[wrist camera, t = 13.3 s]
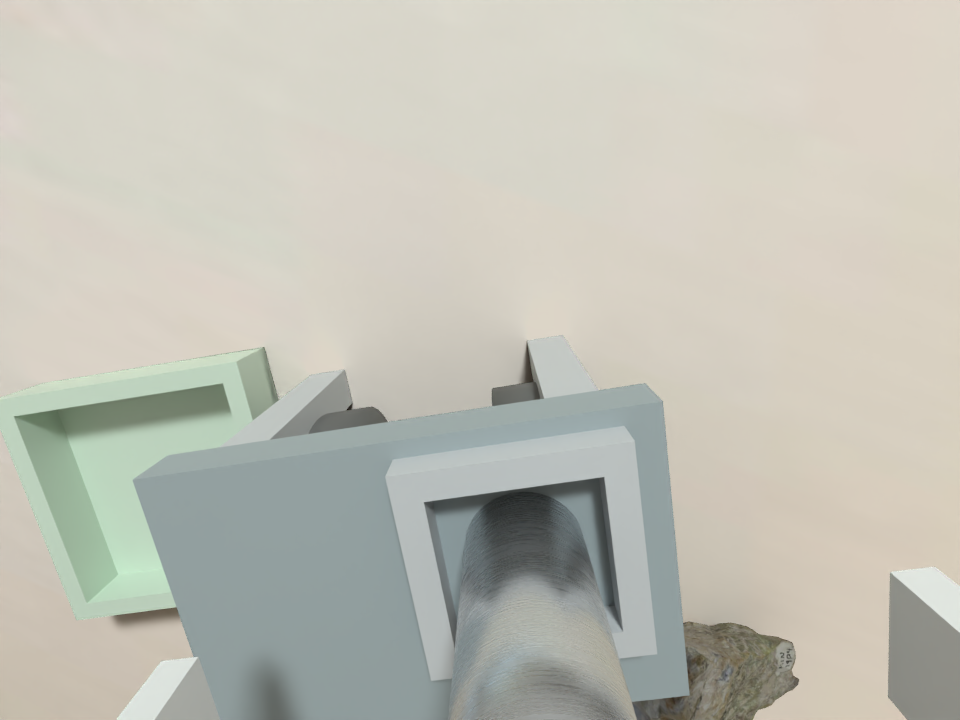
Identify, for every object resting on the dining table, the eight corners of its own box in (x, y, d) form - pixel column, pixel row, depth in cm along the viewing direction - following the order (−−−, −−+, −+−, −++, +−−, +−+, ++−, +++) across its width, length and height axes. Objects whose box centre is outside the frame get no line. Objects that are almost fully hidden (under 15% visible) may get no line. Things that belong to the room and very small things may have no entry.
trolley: (334, 564, 27) (217, 807, 16) (284, 374, 24) (105, 498, 13) (613, 527, 26) (705, 756, 15) (589, 326, 24) (676, 414, 12)
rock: (726, 694, 18) (828, 644, 25) (603, 569, 23) (716, 554, 29) (586, 910, 21) (711, 815, 27) (500, 760, 25) (624, 708, 32)
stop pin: (472, 607, 15) (432, 1323, 5) (450, 497, 14) (353, 1098, 4) (594, 592, 15) (794, 1311, 5) (579, 479, 14) (779, 1071, 4)
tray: (116, 582, 27) (76, 620, 25) (42, 383, 25) (-12, 401, 22) (319, 555, 27) (300, 590, 24) (264, 347, 24) (236, 361, 22)
